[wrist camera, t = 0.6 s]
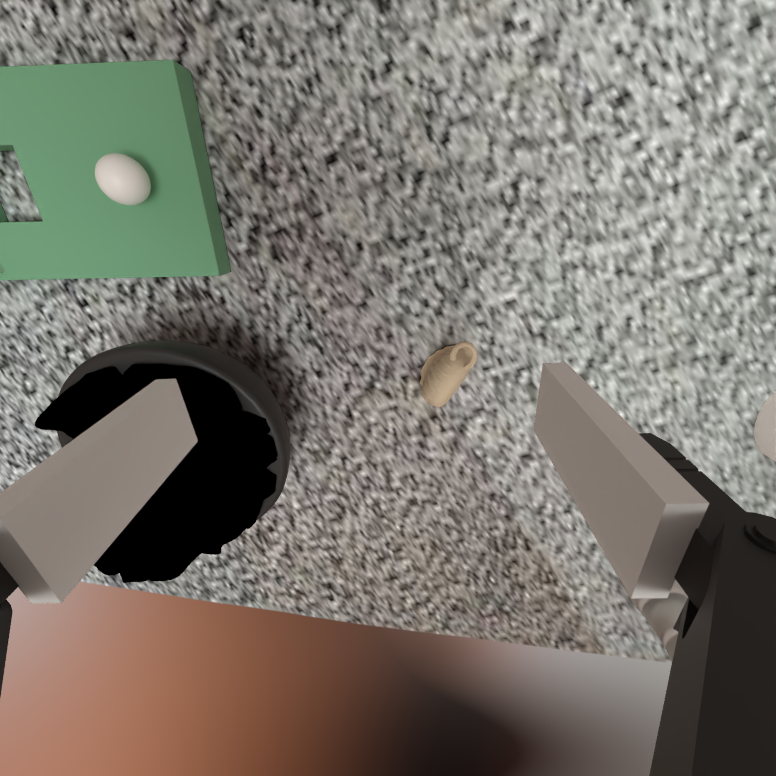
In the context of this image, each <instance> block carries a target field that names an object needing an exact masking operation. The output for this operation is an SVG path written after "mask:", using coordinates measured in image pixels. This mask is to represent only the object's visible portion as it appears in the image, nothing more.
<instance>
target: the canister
mask: <svg viewBox="0 0 776 776" xmlns="http://www.w3.org/2000/svg"><path fill="white" fill-rule="evenodd" d="M754 438H755V442H756V444H757V446H758V448H759V449H760V451H761V452H762V453H763V454H765V455H766V456H767V457H769V458H770V459H772V460H773V461H775V462H776V390H775V391H774V392H773V394H772V395H771V396H770V397H769V398H768V399H767V401H766V402H765V403H764V405H763V406H762V408H761V410H760V412H759V414H758V416H757V419H756V422H755V426H754Z"/></svg>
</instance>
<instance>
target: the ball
mask: <svg viewBox="0 0 776 776" xmlns="http://www.w3.org/2000/svg"><path fill="white" fill-rule="evenodd" d="M95 178H96V181H97V183H98V185H99V187H100V189H101V190H102V191H103V192H104V193H105V194H106V195H107V196H108V197H109V198H110V199H112V200H114V201H115V202H118V203H120V204H123V205H138V204H140V203H142V202H144V201H145V200H146V199H147V198H148V196H149V194H150V190H151V183H150V179H149V176H148V174H147V172H146V171H145V169H144V168H143V167H142V166H141V165H140V164H139V163H138V162H137V161H136V160H134V159H133V158H131V157H129V156H127V155H124V154H119V153H110V154H106V155H104V156H102V157H101V158H100V159H99V160H98V162H97V163H96V166H95Z"/></svg>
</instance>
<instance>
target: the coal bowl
mask: <svg viewBox="0 0 776 776" xmlns="http://www.w3.org/2000/svg"><path fill="white" fill-rule="evenodd" d="M157 379H176V380H177V383H178V386H179V389H180V392H181V394H182V397H183V400H184V403H185V406H186V409H187V411H188V414H189V417H190V420H191V423H192V426H193V428H194V431H195V434H196V437H197V440H198V442H197V443H196V444H195V445H194V446H193V448H192V449H191V450H190V451H189V452H188V454H187V455H186V456H185V457H184V458H183V459H182V461H181V462H180V463H179V464H178V465H177V467H176V468H175V469H174V470H173V471H172V473H171V474H170V475H169V476H168V477H167V478H166V480H165V481H164V482H163V483H162V484H161V486H160V487H159V488H158V489H157V490H156V491H155V493H154V494H153V495H152V496H151V497H150V499H149V500H148V501H147V502H146V503H145V505H144V506H143V507H142V508H141V509H140V510H139V512H138V513H137V514H136V515H135V516H134V518H133V519H132V520H131V521H130V522H129V524H128V525H127V526H126V527H125V528H124V529H123V531H122V532H121V533H120V534H119V535H118V537H117V538H116V539H115V540H114V541H113V542H112V544H111V545H110V546H109V547H108V548H107V550H106V551H105V552H104V553H103V554H102V556H101V557H100V558H99V559H98V560H97V561H96V563H95V564H94V566H95V567H97V568H98V570H99V571H101V572H102V573H103V574H105V575H109V576H110V575H116V574H118V573H120V575H121V577H122V581H123V583H127V582H143V581H146V580H150V581H167V580H172V579H175V578H177V577H178V576H180V574H182V573H183V572H184V570H185V569H186V568H187V567H188V566H189V565H190V563H191V562H192V561H193V560H194V559H195V558H196V557H197V556H199V555H200V554H201V553H204V554H214V555H216V554H220V553H221V547H222V546H223V545H224V544H227V543H229V542H230V541H232V540H234V539H236V538H237V537H238V536H239V535H240V534H241V533H242V532H243V531H244V530H245V529H246V528H247V529H249V528H250V527H252V525H253V524H254V523H255V522H256V520H258V519H259V518H260V517H262V516H263V515H264V514H265V513H266V512H267V511H268V510H269V509H270V508H271V507H272V506H273V505H274V503H275V502H276V501H277V499H278V498H279V496H280V494H281V492H282V490H283V487H284V484H285V481H286V478H287V474H288V468H289V461H290V439H289V432H288V427H287V423H286V420H285V417H284V414H283V411H282V409H281V407H280V404H279V403H278V401H277V399H276V397H275V396H274V394H273V393H272V391H271V390H270V388H269V387H268V386H267V385H266V384H265V382H264V381H263V380H262V379H261V378H260V377H259V376H258V375H257V374H256V373H255V372H253V371H252V370H251V369H250V368H249V367H247V366H246V365H244V364H243V363H242V362H240V361H238V360H237V359H235V358H233V357H231V356H229V355H227V354H225V353H223V352H221V351H218V350H216V349H213V348H210V347H207V346H203V345H199V344H194V343H189V342H182V341H163V340H161V341H146V342H139V343H132V344H128V345H124V346H120V347H116V348H113V349H110V350H107V351H105V352H102V353H100V354H97V355H95V356H93V357H92V358H90V359H88V360H86V361H85V362H84V363H82V364H81V365H80V366H79V367H78V368H77V369H76V370H74V371H73V372H72V374H71V375H70V376H69V377H68V379H67V380H66V381H65V383H64V385H63V387H62V388H61V391H60V393H59V396H58V398H57V399H55V400H54V401H53V402H52V403H51V404H50V405H49V406H48V407H47V409H46V410H45V411H44V412H42V413H41V414H40V416H39V417H38V418H37V420H36V422H35V426H36V427H37V428H39V429H43V430H56V431H57V433H58V437H59V440H60V443H61V446H62V448H63V447H64V446H65V445H67V444H68V443H70V442H71V441H72V440H74V439H75V438H76V437H78V436H79V435H81V434H82V433H83V432H85V431H86V430H87V429H89V428H90V427H91V426H93V425H94V424H96V423H97V422H98V421H100V420H101V419H102V418H104V417H105V416H107V415H108V414H109V413H111V412H112V411H113V410H115V409H116V408H117V407H119V406H120V405H122V404H123V403H124V402H126V401H127V400H128V399H130V398H131V397H133V396H134V395H135V394H137V393H138V392H139V391H141V390H142V389H143V388H145V387H146V386H148V385H149V384H150V383H152V382H153V381H154V380H157Z"/></svg>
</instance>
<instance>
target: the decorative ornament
mask: <svg viewBox="0 0 776 776" xmlns="http://www.w3.org/2000/svg"><path fill="white" fill-rule="evenodd" d="M467 348H468V349H467ZM476 361H477V350H476V348H475V347H474V346H473V345H472V344H471V343H468V342H460V343H458V344H457V345H453V346H446V347H445V348H443V349H442V350H438V351H436V352H435V353H434V354H433V355H431V356H430V357H428V358H427V360H426V363H425V364H424V366H423V367H422V369H421V381H420V385H421V386H422V389H421V392H422V396H423V398H424V399H425V401H427V402H428V403H430V404H431V405H433V406H435V407H441V406H443V405H444V404H446V403H447V401H448V400H449V399H450V398H451V397H452V395H453V394H454V393H455V391H456V390H457V389H458V387H459V386H460V384H461V383H462V382H463V380H464V379H465V377H466V375H467V374H468V372H469V370H470V369H471V368H472V367H473V365H474V364H475V363H476Z"/></svg>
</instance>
